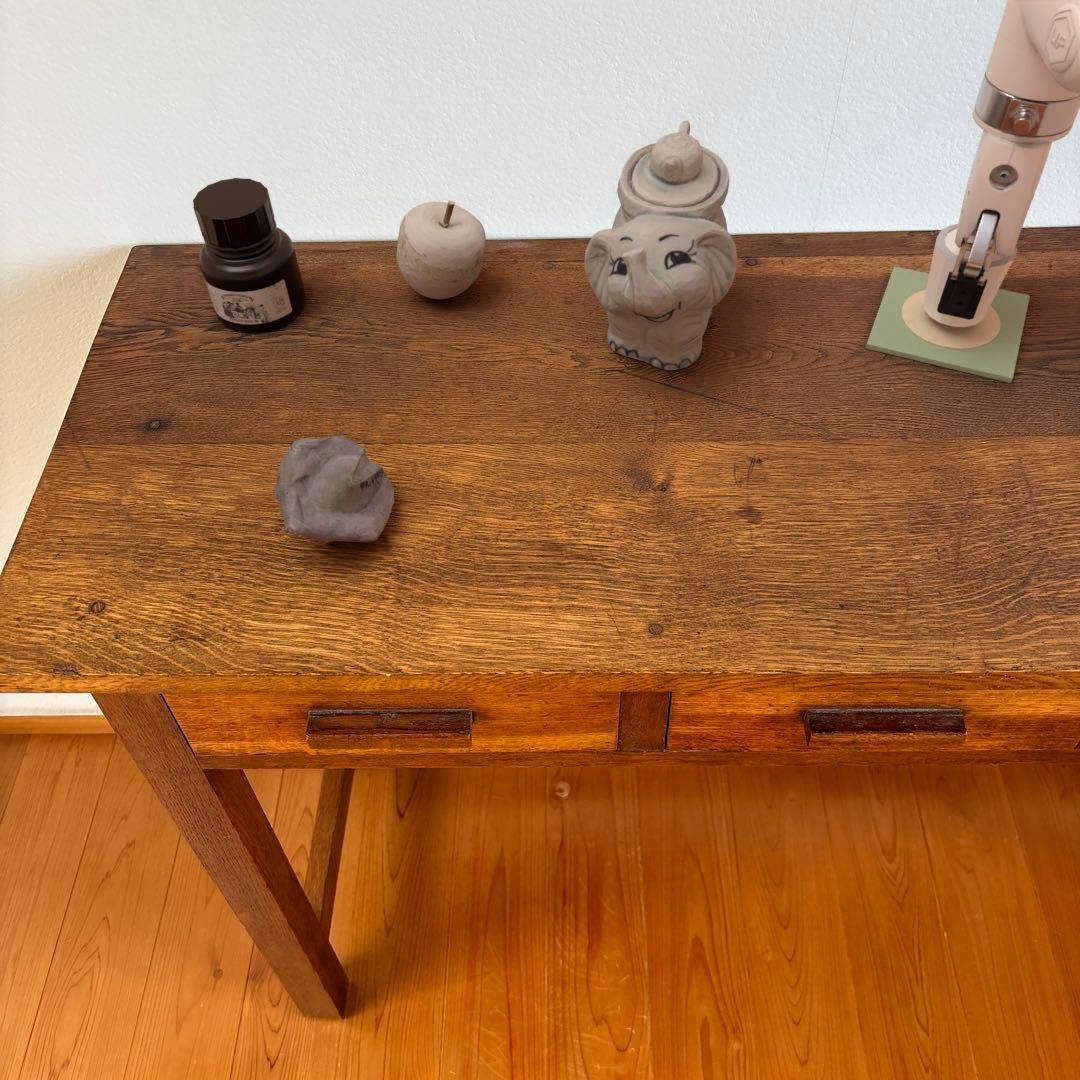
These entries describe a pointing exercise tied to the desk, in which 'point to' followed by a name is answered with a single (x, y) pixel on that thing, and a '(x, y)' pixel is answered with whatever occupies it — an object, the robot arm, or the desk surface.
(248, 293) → the ink bottle
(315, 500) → the fossil
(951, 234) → the shot glass
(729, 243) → the teapot
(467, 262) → the decorative object
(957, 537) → the desk surface
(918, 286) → the mat
